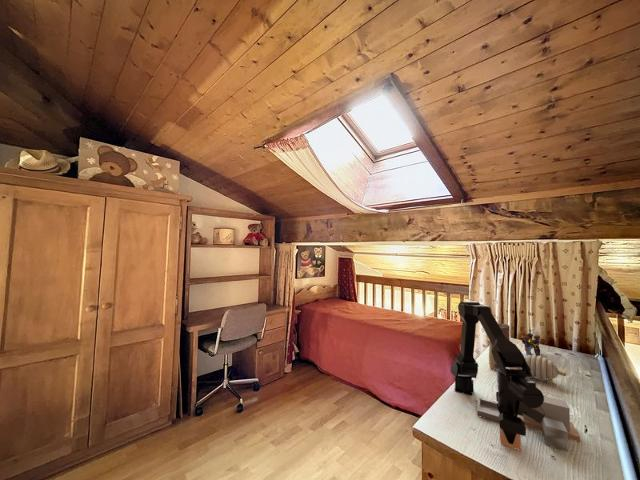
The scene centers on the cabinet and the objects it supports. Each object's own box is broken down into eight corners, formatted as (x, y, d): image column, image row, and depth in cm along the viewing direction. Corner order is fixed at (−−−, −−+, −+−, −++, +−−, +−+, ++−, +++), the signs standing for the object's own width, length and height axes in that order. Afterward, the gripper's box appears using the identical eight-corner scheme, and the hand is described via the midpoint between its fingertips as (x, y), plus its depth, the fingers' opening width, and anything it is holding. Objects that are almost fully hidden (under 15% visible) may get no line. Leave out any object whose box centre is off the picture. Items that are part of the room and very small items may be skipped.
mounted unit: (516, 423, 90) (516, 397, 90) (514, 410, 96) (513, 386, 97) (580, 441, 81) (579, 413, 81) (572, 426, 88) (571, 400, 88)
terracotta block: (500, 443, 80) (500, 424, 80) (499, 434, 85) (499, 415, 85) (520, 450, 78) (520, 430, 78) (518, 440, 82) (518, 421, 82)
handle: (486, 369, 129) (486, 339, 129) (489, 365, 134) (488, 336, 134) (498, 372, 126) (497, 342, 126) (500, 368, 130) (499, 338, 131)
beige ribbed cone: (519, 370, 128) (519, 348, 129) (566, 382, 117) (565, 358, 117) (516, 378, 120) (516, 354, 121) (566, 392, 109) (566, 366, 109)
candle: (512, 366, 133) (511, 327, 133) (495, 363, 135) (495, 325, 136) (507, 360, 140) (506, 323, 141) (491, 357, 143) (490, 321, 143)
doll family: (545, 367, 131) (544, 341, 132) (522, 363, 137) (522, 337, 137) (540, 352, 150) (539, 329, 150) (520, 349, 155) (520, 327, 156)
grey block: (546, 445, 80) (545, 425, 80) (542, 435, 84) (542, 416, 84) (567, 452, 77) (567, 431, 77) (563, 441, 82) (562, 422, 82)
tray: (477, 415, 94) (477, 410, 94) (477, 402, 102) (477, 397, 102) (509, 425, 88) (509, 419, 89) (507, 410, 97) (507, 405, 97)
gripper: (549, 413, 69) (550, 471, 69) (536, 382, 85) (537, 429, 85) (499, 399, 75) (500, 454, 75) (495, 373, 91) (496, 417, 91)
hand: (509, 438), depth 81 cm, fingers closed on terracotta block, 5 cm apart
